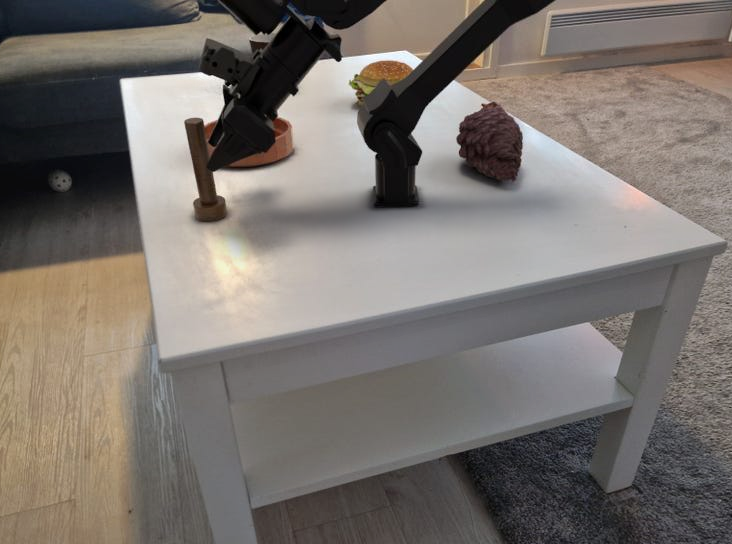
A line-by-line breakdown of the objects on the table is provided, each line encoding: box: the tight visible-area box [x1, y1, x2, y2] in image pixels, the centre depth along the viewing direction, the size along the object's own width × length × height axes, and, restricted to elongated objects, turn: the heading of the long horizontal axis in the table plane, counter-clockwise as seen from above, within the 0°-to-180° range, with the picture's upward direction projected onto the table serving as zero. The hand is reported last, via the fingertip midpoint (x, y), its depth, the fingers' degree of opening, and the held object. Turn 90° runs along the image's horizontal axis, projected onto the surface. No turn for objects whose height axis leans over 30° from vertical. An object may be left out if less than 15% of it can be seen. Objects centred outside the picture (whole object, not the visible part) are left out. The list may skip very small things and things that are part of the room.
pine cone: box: [455, 101, 524, 182], centre depth 100 cm, size 18×10×10 cm
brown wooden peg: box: [183, 117, 228, 222], centre depth 87 cm, size 4×4×13 cm
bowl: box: [204, 115, 295, 168], centre depth 108 cm, size 15×15×4 cm
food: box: [348, 59, 414, 107], centre depth 127 cm, size 14×14×8 cm
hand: (209, 156), depth 86 cm, fingers open, 9 cm apart
